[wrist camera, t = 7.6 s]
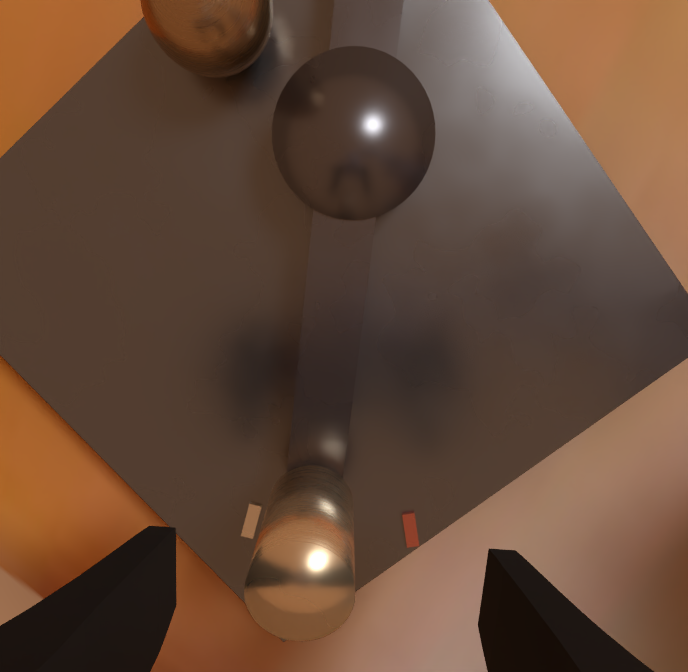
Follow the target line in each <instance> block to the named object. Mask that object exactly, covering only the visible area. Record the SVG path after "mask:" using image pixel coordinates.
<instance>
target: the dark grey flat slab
mask: <svg viewBox="0 0 688 672" xmlns="http://www.w3.org/2000/svg"><path fill="white" fill-rule="evenodd" d="M141 7H142V11H143V15H144V17H143V18H142V19H141V20H140V21H139V22H138V23H137V24H136V25H135V26H134V27H133V28H132V29H131V30H130V31H129V32H128V33H127V34H126V35H125V36H124V37H123V38H122V39H121V40H120V41H119V42H118V43H117V44H116V45H115V46H114V47H113V48H112V49H111V50H110V51H109V52H108V53H107V54H106V55H105V56H104V57H102V58H101V59H100V60H99V61H98V62H97V63H96V64H95V65H94V66H93V67H92V68H91V69H90V70H89V71H88V72H87V73H86V74H85V75H84V76H83V77H82V78H81V79H80V80H79V81H78V82H77V83H76V84H75V85H74V86H73V87H72V88H71V89H70V90H69V91H68V92H67V93H66V94H65V95H64V96H63V97H62V98H61V99H60V100H59V101H58V102H57V103H56V104H55V105H54V106H53V107H52V108H51V109H50V110H49V111H48V112H47V113H46V114H45V115H44V116H43V117H42V118H41V119H39V120H38V121H37V122H36V123H35V124H34V125H33V126H32V127H31V128H30V129H29V130H28V131H27V132H26V133H25V134H24V135H23V136H22V137H21V138H20V139H19V140H18V141H17V142H16V143H15V144H14V145H13V146H12V147H11V148H10V149H9V150H8V151H7V152H6V153H5V154H4V155H3V156H2V157H1V158H0V355H1V356H2V357H3V358H4V359H5V360H6V361H7V362H8V363H9V364H10V365H11V366H12V367H13V368H14V369H15V370H16V371H17V372H18V373H19V374H20V376H21V377H22V378H23V379H24V380H25V381H26V382H27V383H28V384H29V385H30V386H31V387H32V388H33V389H34V390H35V391H36V392H37V393H38V394H39V395H40V396H41V397H42V398H43V399H44V400H45V401H46V402H47V403H48V404H49V405H50V406H51V407H52V408H53V409H54V410H55V411H56V412H57V413H58V414H59V415H60V416H61V417H62V418H63V419H64V420H65V421H66V422H67V423H68V424H69V425H70V426H71V427H72V428H73V429H74V430H75V431H76V432H77V433H78V434H79V435H80V436H81V437H82V438H83V439H84V440H85V441H86V442H87V443H88V444H89V445H90V446H91V447H92V448H93V449H94V450H95V452H96V453H97V454H98V455H99V456H100V457H101V458H102V459H103V460H104V461H105V462H106V463H107V464H108V465H109V466H110V467H111V468H112V469H113V470H114V471H115V472H116V473H117V474H118V475H119V476H120V477H121V478H122V479H123V480H124V481H125V482H126V483H127V484H128V485H129V486H130V487H131V488H132V489H133V490H134V491H135V492H136V493H137V494H138V495H139V496H140V497H141V498H142V499H143V500H144V501H145V502H146V503H147V504H148V505H149V506H150V507H151V508H152V509H153V510H154V511H155V512H156V513H157V514H158V515H159V516H160V517H161V518H162V519H163V520H164V521H165V522H166V523H167V524H168V525H169V526H170V527H174V528H176V534H177V535H178V536H179V537H180V538H181V539H182V540H183V541H184V542H185V543H186V544H187V545H188V546H189V547H190V548H191V549H192V550H193V551H194V552H195V553H196V554H197V555H198V556H199V557H200V558H201V559H202V560H203V561H204V562H205V563H206V564H207V565H208V566H209V567H210V568H211V569H212V570H213V571H214V572H215V573H216V574H217V575H218V576H219V577H220V578H221V579H222V580H223V581H224V582H225V583H226V584H227V585H228V586H229V587H230V588H231V589H232V590H233V591H234V592H235V593H236V594H237V595H238V596H239V597H240V598H241V599H242V600H243V601H244V602H245V597H244V586H245V581H246V577H247V574H248V571H249V567H250V564H251V560H252V557H253V553H254V550H255V547H256V543H257V540H258V536H259V533H260V530H261V526H262V523H263V519H264V516H265V512H266V509H267V506H268V502H269V499H270V495H271V492H272V489H273V487H274V485H275V484H276V482H277V481H278V480H279V478H280V477H281V476H283V475H284V474H285V473H286V472H287V465H288V455H289V445H290V435H291V425H292V415H293V405H294V395H295V386H296V376H297V366H298V356H299V346H300V336H301V326H302V316H303V306H304V296H305V287H306V277H307V267H308V257H309V247H310V237H311V227H312V217H313V208H311V207H310V206H308V205H307V204H305V203H304V202H303V201H302V200H301V199H299V198H298V197H297V196H296V195H295V193H294V192H293V191H292V190H291V189H290V187H289V186H288V185H287V183H286V182H285V180H284V178H283V176H282V174H281V172H280V170H279V168H278V165H277V162H276V160H275V155H274V151H273V144H272V122H273V115H274V111H275V108H276V104H277V101H278V99H279V97H280V94H281V92H282V90H283V89H284V87H285V85H286V83H287V82H288V81H289V79H290V78H291V77H292V75H293V74H294V73H295V72H296V71H297V70H298V69H299V68H300V67H301V66H302V65H303V64H305V63H306V62H307V61H309V60H310V59H312V58H313V57H315V56H317V55H319V54H320V53H323V52H326V51H328V50H329V49H330V39H331V29H332V19H333V9H334V0H141ZM396 59H398V60H399V61H401V62H402V63H403V64H405V65H406V66H407V67H408V68H409V69H410V70H411V71H412V72H413V73H414V75H415V76H416V77H417V78H418V80H419V81H420V82H421V84H422V86H423V87H424V89H425V91H426V93H427V95H428V98H429V100H430V103H431V106H432V109H433V113H434V119H435V133H436V135H435V146H434V151H433V156H432V159H431V162H430V165H429V168H428V170H427V172H426V174H425V176H424V178H423V180H422V181H421V183H420V184H419V186H418V187H417V188H416V190H415V191H414V192H413V193H412V194H411V195H410V196H409V197H408V198H407V199H406V200H405V201H404V202H403V203H401V204H400V205H398V206H397V207H396V208H394V209H392V210H390V211H388V212H386V213H385V214H382V215H380V216H377V217H376V222H375V230H374V237H373V245H372V253H371V261H370V269H369V277H368V285H367V293H366V300H365V308H364V316H363V324H362V332H361V340H360V348H359V355H358V363H357V371H356V379H355V387H354V395H353V403H352V410H351V418H350V426H349V434H348V442H347V450H346V458H345V466H344V473H343V479H344V480H345V482H346V483H347V484H348V486H349V488H350V490H351V493H352V496H353V510H354V558H355V592H356V591H357V590H358V589H360V588H361V587H363V586H364V585H365V584H367V583H368V582H370V581H371V580H373V579H374V578H375V577H377V576H378V575H380V574H381V573H383V572H384V571H385V570H387V569H388V568H390V567H391V566H392V565H394V564H395V563H397V562H398V561H400V560H401V559H402V558H404V557H405V556H407V555H408V554H410V553H411V552H412V551H414V550H415V549H417V548H418V547H419V546H421V545H422V544H424V543H425V542H427V541H428V540H429V539H431V538H432V537H434V536H435V535H437V534H438V533H439V532H441V531H442V530H444V529H445V528H446V527H448V526H449V525H451V524H452V523H454V522H455V521H456V520H458V519H459V518H461V517H462V516H463V515H465V514H466V513H468V512H469V511H471V510H472V509H473V508H475V507H476V506H478V505H479V504H481V503H482V502H483V501H485V500H486V499H488V498H489V497H490V496H492V495H493V494H495V493H496V492H498V491H499V490H500V489H502V488H503V487H505V486H506V485H508V484H509V483H510V482H512V481H513V480H515V479H516V478H517V477H519V476H520V475H522V474H523V473H525V472H526V471H527V470H529V469H530V468H532V467H533V466H535V465H536V464H537V463H539V462H540V461H542V460H543V459H544V458H546V457H547V456H549V455H550V454H552V453H553V452H554V451H556V450H557V449H559V448H560V447H562V446H563V445H564V444H566V443H567V442H569V441H570V440H571V439H573V438H574V437H576V436H577V435H579V434H580V433H581V432H583V431H584V430H586V429H587V428H589V427H590V426H591V425H593V424H594V423H596V422H597V421H598V420H600V419H601V418H603V417H604V416H606V415H607V414H608V413H610V412H611V411H613V410H614V409H616V408H617V407H618V406H620V405H621V404H623V403H624V402H625V401H627V400H628V399H630V398H631V397H633V396H634V395H635V394H637V393H638V392H640V391H641V390H643V389H644V388H645V387H647V386H648V385H650V384H651V383H652V382H654V381H655V380H657V379H658V378H660V377H661V376H662V375H664V374H665V373H667V372H668V371H670V370H671V369H672V368H674V367H675V366H677V365H678V364H679V363H681V362H682V361H684V360H685V359H687V358H688V294H687V292H686V291H685V289H684V288H683V286H682V285H681V283H680V282H679V280H678V279H677V277H676V276H675V274H674V273H673V271H672V270H671V269H670V267H669V266H668V264H667V263H666V261H665V260H664V258H663V257H662V255H661V254H660V252H659V251H658V249H657V248H656V246H655V245H654V244H653V242H652V241H651V239H650V238H649V236H648V235H647V233H646V232H645V230H644V229H643V227H642V226H641V224H640V223H639V221H638V220H637V218H636V217H635V216H634V214H633V213H632V211H631V210H630V208H629V207H628V205H627V204H626V202H625V201H624V199H623V198H622V196H621V195H620V193H619V192H618V191H617V189H616V188H615V186H614V185H613V183H612V182H611V180H610V179H609V177H608V176H607V174H606V173H605V171H604V170H603V168H602V167H601V165H600V164H599V163H598V161H597V160H596V158H595V157H594V155H593V154H592V152H591V151H590V149H589V148H588V146H587V145H586V143H585V142H584V140H583V139H582V138H581V136H580V135H579V133H578V132H577V130H576V129H575V127H574V126H573V124H572V123H571V121H570V120H569V118H568V117H567V115H566V114H565V112H564V111H563V110H562V108H561V107H560V105H559V104H558V102H557V101H556V99H555V98H554V96H553V95H552V93H551V92H550V90H549V89H548V87H547V86H546V85H545V83H544V82H543V80H542V79H541V77H540V76H539V74H538V73H537V71H536V70H535V68H534V67H533V65H532V64H531V62H530V61H529V59H528V58H527V57H526V55H525V54H524V52H523V51H522V49H521V48H520V46H519V45H518V43H517V42H516V40H515V39H514V37H513V36H512V34H511V33H510V32H509V30H508V29H507V27H506V26H505V24H504V23H503V21H502V20H501V18H500V17H499V15H498V14H497V12H496V11H495V9H494V8H493V6H492V5H491V4H490V2H489V1H488V0H404V2H403V9H402V17H401V25H400V33H399V41H398V49H397V57H396ZM245 604H246V602H245ZM279 638H280V637H279ZM280 639H281V640H282V641H283V642H284V641H286V640H287V639H283V638H280Z"/></svg>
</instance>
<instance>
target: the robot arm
mask: <svg viewBox="0 0 688 672" xmlns="http://www.w3.org/2000/svg"><path fill="white" fill-rule="evenodd" d="M175 607H176V528H174V527H159V526H148V527H147V528H145V529H144V530H142V531H141V532H140V533H138V534H137V535H135V536H134V537H133V538H131V539H130V540H128V541H127V542H126V543H124V544H123V545H122V546H120V547H119V548H117V549H116V550H115V551H113V552H112V553H111V554H109V555H108V556H106V557H105V558H104V559H102V560H101V561H99V562H98V563H97V564H95V565H94V566H92V567H91V568H90V569H88V570H87V571H85V572H84V573H83V574H81V575H80V576H78V577H77V578H75V579H74V580H72V581H71V582H69V583H68V584H66V585H65V586H63V587H62V588H60V589H59V590H57V591H56V592H54V593H52V594H51V595H49V596H48V597H46V598H45V599H43V600H42V601H40V602H39V603H37V604H36V605H34V606H32V607H31V608H29V609H28V610H26V611H25V612H23V613H21V614H19V615H18V616H16V617H14V618H13V619H11V620H9V621H8V622H6V623H4V624H2V625H1V626H0V672H150V671H151V669H152V666H153V664H154V662H155V660H156V658H157V656H158V654H159V652H160V649H161V647H162V644H163V641H164V639H165V636H166V633H167V630H168V628H169V625H170V622H171V619H172V616H173V613H174V610H175ZM478 628H479V633H480V638H481V643H482V648H483V652H484V657H485V661H486V666H487V670H488V672H654V671H652V670H651V669H650V668H648V667H647V666H646V665H645V664H643V663H642V662H641V661H639V660H638V659H637V658H636V657H634V656H633V655H632V654H631V653H629V652H628V651H627V650H626V649H624V648H623V647H622V646H621V645H620V644H618V643H617V642H616V641H615V640H614V639H612V638H611V637H610V636H609V635H608V634H606V633H605V632H604V631H603V630H602V629H600V628H599V627H598V626H597V625H596V624H595V623H594V622H592V621H591V620H590V619H589V618H588V617H587V616H586V615H585V614H583V613H582V612H581V611H580V610H579V609H578V608H577V607H576V606H575V605H574V604H572V603H571V602H570V601H569V600H568V599H567V598H566V597H565V596H564V595H563V594H562V593H561V592H559V591H558V590H557V589H556V588H555V587H554V586H553V585H552V584H551V583H550V582H549V581H548V580H547V579H546V578H545V577H544V576H543V575H542V574H540V573H539V572H538V571H537V570H536V569H535V568H534V567H533V566H532V565H531V564H530V563H529V562H528V561H527V560H526V559H525V558H523V557H522V556H521V555H520V554H519V553H518V552H517V551H515V550H500V549H489V551H488V558H487V565H486V572H485V579H484V586H483V593H482V600H481V607H480V614H479V621H478Z"/></svg>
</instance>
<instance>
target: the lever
mask: <svg viewBox="0 0 688 672" xmlns="http://www.w3.org/2000/svg"><path fill="white" fill-rule="evenodd" d="M403 2H404V0H334V9H333V19H332V29H331V39H330V49H329V50H328V51H326V52H323V53H320V54H319V55H317V56H315V57H313V58H312V59H310V60H309V61H307V62H306V63H305V64H303V65H302V66H301V67H300V68H299V69H298V70H297V71H296V72H295V73H294V74H293V75H292V77H291V78H290V79H289V81H288V82H287V83H286V85H285V87H284V89H283V90H282V92H281V94H280V97H279V99H278V101H277V104H276V108H275V111H274V115H273V122H272V144H273V151H274V155H275V160H276V162H277V165H278V168H279V170H280V172H281V174H282V176H283V178H284V180H285V182H286V183H287V185H288V186H289V187H290V189H291V190H292V191H293V192H294V193H295V195H296V196H297V197H298V198H299V199H301V200H302V201H303V202H304V203H305V204H307V205H308V206H310V207H311V208H313V217H312V227H311V237H310V247H309V257H308V267H307V277H306V287H305V296H304V306H303V316H302V326H301V336H300V346H299V356H298V366H297V376H296V386H295V395H294V405H293V415H292V425H291V435H290V445H289V455H288V465H287V472H286V473H285V474H284V475H283V476H281V477H280V478H279V480H278V481H277V482H276V484H275V485H274V487H273V489H272V492H271V495H270V499H269V502H268V506H267V509H266V512H265V516H264V519H263V523H262V526H261V530H260V533H259V536H258V540H257V543H256V547H255V550H254V553H253V557H252V560H251V564H250V567H249V571H248V574H247V577H246V581H245V586H244V597H245V602H246V606H247V608H248V610H249V613H250V614H251V616H252V617H253V619H254V620H255V621H256V622H257V623H258V624H259V625H260V626H261V627H262V628H263V629H265V630H266V631H267V632H269V633H271V634H273V635H275V636H277V637H280V638H283V639H287V640H292V641H310V640H316V639H319V638H322V637H325V636H327V635H329V634H331V633H332V632H334V631H335V630H337V629H338V628H339V627H340V626H341V625H342V624H343V623H344V622H345V621H346V620H347V618H348V617H349V615H350V613H351V611H352V609H353V606H354V601H355V558H354V510H353V496H352V493H351V490H350V488H349V486H348V484H347V483H346V482H345V480H344V479H343V473H344V466H345V458H346V450H347V442H348V434H349V426H350V418H351V410H352V403H353V395H354V387H355V379H356V371H357V363H358V355H359V348H360V340H361V332H362V324H363V316H364V308H365V300H366V293H367V285H368V277H369V269H370V261H371V253H372V245H373V237H374V230H375V222H376V217H377V216H380V215H382V214H385V213H386V212H388V211H390V210H392V209H394V208H396V207H397V206H398V205H400V204H401V203H403V202H404V201H405V200H406V199H407V198H408V197H409V196H410V195H411V194H412V193H413V192H414V191H415V190H416V188H417V187H418V186H419V184H420V183H421V181H422V180H423V178H424V176H425V174H426V172H427V170H428V168H429V165H430V162H431V159H432V156H433V151H434V146H435V135H436V133H435V119H434V113H433V109H432V106H431V103H430V100H429V98H428V95H427V93H426V91H425V89H424V87H423V86H422V84H421V82H420V81H419V80H418V78H417V77H416V76H415V75H414V73H413V72H412V71H411V70H410V69H409V68H408V67H407V66H406V65H405V64H403V63H402V62H401V61H399V60H398V59H396V57H397V49H398V41H399V33H400V25H401V17H402V9H403Z"/></svg>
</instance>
